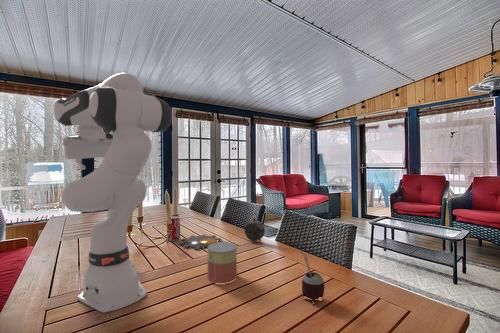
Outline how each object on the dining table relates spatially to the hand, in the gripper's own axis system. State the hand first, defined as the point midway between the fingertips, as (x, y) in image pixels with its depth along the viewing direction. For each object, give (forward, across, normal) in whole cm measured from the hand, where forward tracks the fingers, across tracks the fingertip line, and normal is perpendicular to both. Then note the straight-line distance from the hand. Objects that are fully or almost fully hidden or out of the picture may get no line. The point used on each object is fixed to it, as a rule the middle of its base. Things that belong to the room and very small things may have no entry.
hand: (95, 168), depth 108 cm
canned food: (+46, +20, -49) cm, 70 cm away
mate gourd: (+49, +26, -83) cm, 99 cm away
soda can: (+45, +37, +4) cm, 58 cm away
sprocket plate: (+46, +43, -12) cm, 64 cm away
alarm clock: (+49, +61, -34) cm, 85 cm away
